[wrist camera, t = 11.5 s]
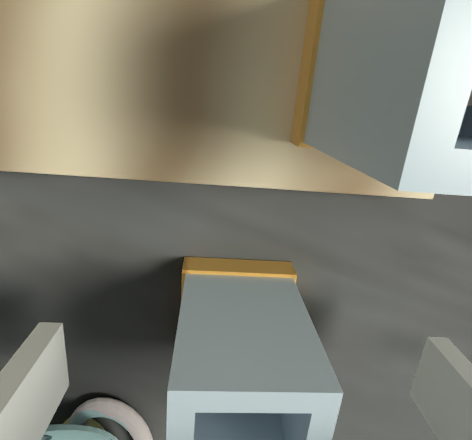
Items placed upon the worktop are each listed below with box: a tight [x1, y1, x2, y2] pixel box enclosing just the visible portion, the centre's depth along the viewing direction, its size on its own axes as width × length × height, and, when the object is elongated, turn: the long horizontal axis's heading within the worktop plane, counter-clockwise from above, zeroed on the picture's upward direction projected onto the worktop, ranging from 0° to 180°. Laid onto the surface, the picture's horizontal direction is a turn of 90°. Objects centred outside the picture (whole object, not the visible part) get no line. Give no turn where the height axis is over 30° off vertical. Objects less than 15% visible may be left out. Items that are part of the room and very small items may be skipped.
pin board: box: [0, 0, 472, 199], centre depth 9 cm, size 20×8×6 cm, turn 85°
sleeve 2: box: [290, 0, 472, 196], centre depth 8 cm, size 5×5×7 cm
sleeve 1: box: [166, 257, 343, 440], centre depth 12 cm, size 5×5×7 cm
